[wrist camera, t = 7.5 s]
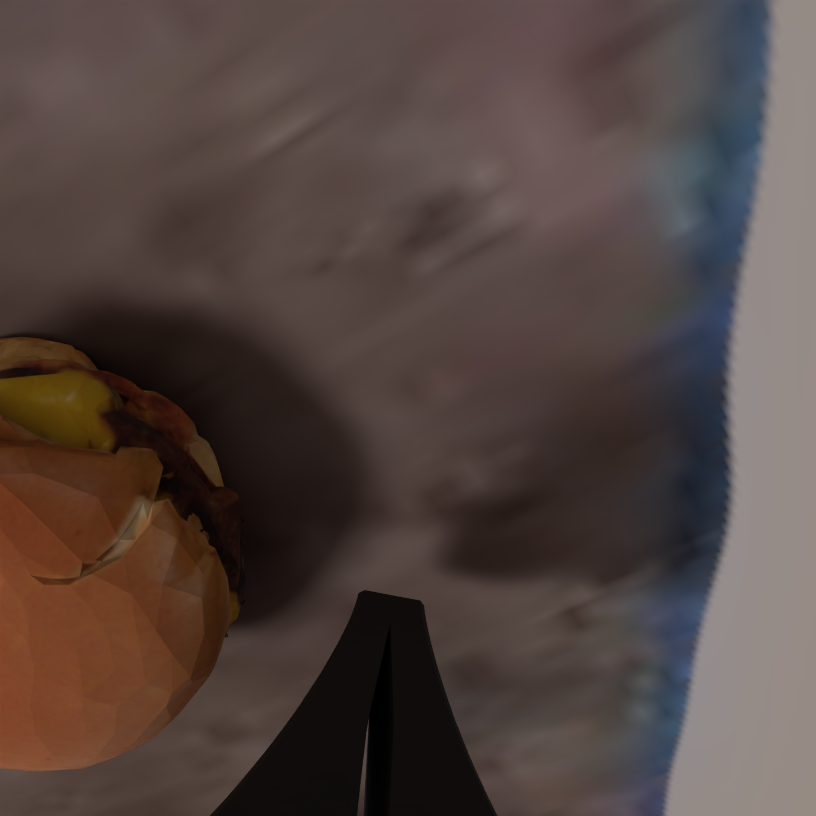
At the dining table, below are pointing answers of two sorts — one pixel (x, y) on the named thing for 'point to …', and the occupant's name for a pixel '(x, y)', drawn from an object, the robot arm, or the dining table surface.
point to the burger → (104, 559)
